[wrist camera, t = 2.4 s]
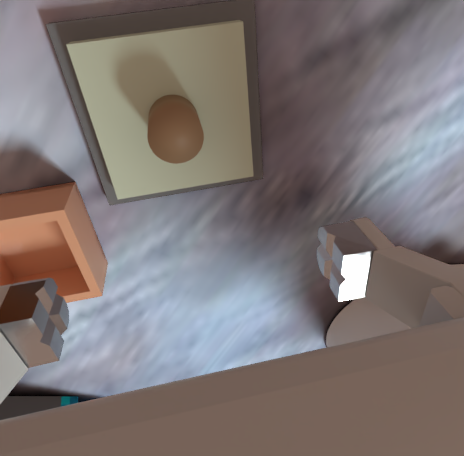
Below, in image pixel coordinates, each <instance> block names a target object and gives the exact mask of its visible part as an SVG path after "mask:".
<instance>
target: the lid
mask: <svg viewBox="0 0 464 456" xmlns="http://www.w3.org/2000/svg"><path fill="white" fill-rule="evenodd" d="M66 46H67V49H68V52H69V55H70V58H71V61H72V64H73V67H74V70H75V73H76V76H77V79H78V82H79V85H80V88H81V91H82V94H83V97H84V100H85V103H86V106H87V109H88V112H89V115H90V118H91V121H92V124H93V127H94V130H95V133H96V136H97V139H98V142H99V145H100V148H101V151H102V154H103V157H104V160H105V163H106V166H107V169H108V172H109V175H110V178H111V181H112V184H113V187H114V190H115V193H116V196H117V199H118V200H119V199H124V198H130V197H136V196H142V195H148V194H154V193H159V192H165V191H171V190H177V189H183V188H189V187H195V186H200V185H206V184H212V183H218V182H224V181H230V180H235V179H241V178H247V177H253V161H252V146H251V131H250V116H249V101H248V86H247V71H246V56H245V41H244V26H243V21H241V20H235V21H227V22H219V23H212V24H204V25H196V26H189V27H181V28H173V29H165V30H158V31H150V32H142V33H135V34H127V35H119V36H112V37H104V38H96V39H89V40H81V41H73V42H70V43H68V44H67V45H66Z"/></svg>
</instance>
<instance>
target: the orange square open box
mask: <svg viewBox="0 0 464 456" xmlns="http://www.w3.org/2000/svg"><path fill="white" fill-rule="evenodd" d="M107 265H108V262H107V260H106V257H105V255H104V252H103V250H102V247H101V245H100V242H99V240H98V237H97V235H96V232H95V230H94V227H93V225H92V222H91V220H90V217H89V215H88V212H87V210H86V207H85V205H84V202H83V200H82V197H81V195H80V192H79V190H78V187H77V185H76V182H70V183H64V184H58V185H52V186H46V187H40V188H34V189H28V190H22V191H16V192H10V193H4V194H0V286H2V285H8V284H14V283H19V282H25V281H31V280H37V279H43V278H52V279H53V280H54V281H55V283H56V285H57V286H58V288H57V292H56V294H58V295H59V296H61V297H63V298H64V299H65V301H66V303H68V302H73V301H78V300H83V299H88V298H94V297H99V296H102V294H103V288H104V283H105V277H106V271H107Z"/></svg>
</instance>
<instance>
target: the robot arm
mask: <svg viewBox="0 0 464 456" xmlns="http://www.w3.org/2000/svg"><path fill="white" fill-rule="evenodd" d="M318 239H319V240H320V242H321V244H320V245H319V246H318V248H317V261H318V266H319V268H320V271H321V273H322V275H323V276H324V277H325V278H327V279H329V280H330V285H329V287H330V288H331V290H332V292H333V293H334V295H335V297H336V298H337V300H338V302H340V301H345V300H351V299H355V300H353V301H352V302H351V303H349V304H348V305H347V306H346V307H345V308H344V309H343V310H342V311H341V312H340V313H339V314H338V315H337V316H336V317H335V319H334V320H333V322H332V323H331V325H330V327H329V329H328V332H327V336H326V345H327V348H322V349H318V350H313V351H309V352H304V353H300V354H295V355H291V356H286V357H282V358H277V359H273V360H268V361H264V362H259V363H255V364H250V365H246V366H241V367H237V368H232V369H228V370H223V371H219V372H214V373H210V374H205V375H201V376H196V377H192V378H187V379H183V380H178V381H174V382H170V383H165V384H161V385H156V386H152V387H147V388H143V389H138V390H134V391H129V392H125V393H120V394H116V395H111V396H107V397H102V398H98V399H93V400H89V401H84V402H80V403H75V404H71V405H66V406H62V407H57V408H53V409H49V410H44V411H40V412H35V413H31V414H26V415H22V416H17V417H13V418H8V419H4V420H0V456H464V264H455V265H449V264H446V263H444V262H441V261H439V260H436V259H433V258H431V257H428V256H425V255H423V254H420V253H417V252H415V251H412V250H410V249H407V248H404V247H402V246H396V247H395V246H394V245H393V244H392V243H391V242H390V241H389V240H388V238H387V237H386V236H385V235H384V234H383V233H382V232H381V231H380V230H379V229H378V228H377V227H376V226H375V225H374V224H373V223H372V221H371V220H370V219H369V218H366V217H363V218H359V219H354V220H350V221H347V222H342V223H336V224H331V225H326V226H321V227H319V230H318ZM57 288H58V286H57V285H56V283H55V281H54V280H53V279H52V278H43V279H37V280H31V281H25V282H19V283H14V284H8V285H2V286H0V404H1V403H2V402H3V400H4V399H5V398H6V397H7V395H8V394H9V393H10V392H11V390H12V389H13V388H14V387H15V385H16V384H17V383H18V382H19V380H20V379H21V378H22V377H23V376H24V374H25V373H26V372H27V371H28V368H30V367H34V366H38V365H42V364H47V363H51V362H55V361H59V359H60V355H61V351H62V347H63V343H64V340H63V338H62V337H61V335H62V333H63V332H64V331H65V330H66V329H67V327H68V323H69V310H68V307H67V303H66V301H65V299H64V298H63V297H61V296H59V295H58V294H56V292H57Z"/></svg>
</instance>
